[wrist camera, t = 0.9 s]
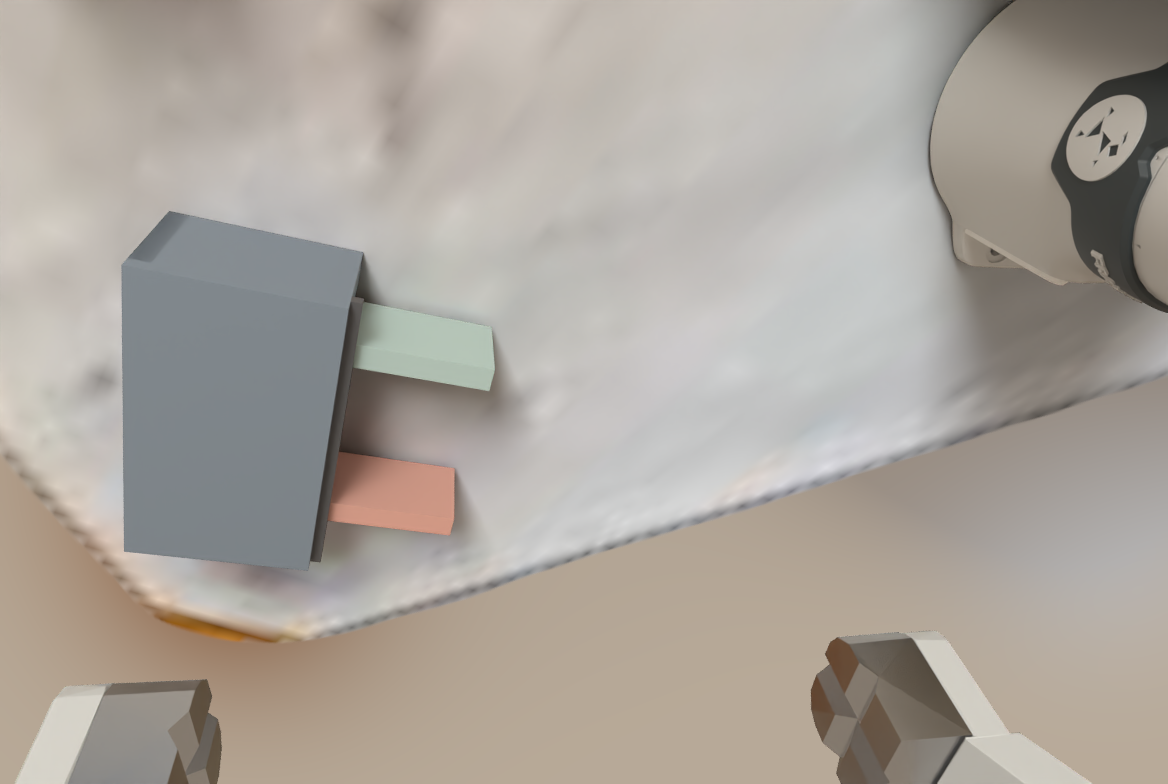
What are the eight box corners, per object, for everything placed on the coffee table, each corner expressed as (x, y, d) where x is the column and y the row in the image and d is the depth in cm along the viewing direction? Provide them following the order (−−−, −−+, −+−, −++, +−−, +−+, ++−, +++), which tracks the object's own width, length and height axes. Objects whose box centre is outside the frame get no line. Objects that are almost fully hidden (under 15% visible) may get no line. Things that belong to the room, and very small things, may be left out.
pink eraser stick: (454, 468, 52) (454, 518, 48) (450, 484, 53) (449, 535, 49) (231, 436, 48) (210, 487, 44) (230, 453, 49) (209, 506, 45)
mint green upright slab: (491, 327, 47) (494, 370, 43) (486, 346, 47) (489, 390, 43) (244, 278, 43) (221, 320, 39) (242, 300, 44) (219, 344, 39)
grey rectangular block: (374, 254, 44) (361, 311, 38) (333, 496, 53) (318, 571, 47) (169, 211, 41) (121, 265, 35) (163, 473, 50) (124, 551, 44)
